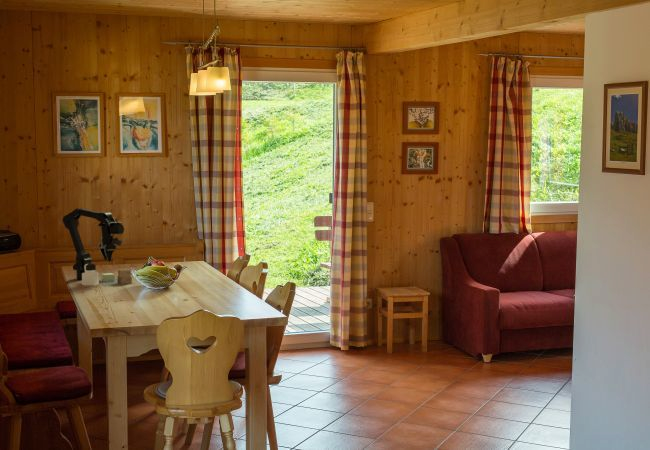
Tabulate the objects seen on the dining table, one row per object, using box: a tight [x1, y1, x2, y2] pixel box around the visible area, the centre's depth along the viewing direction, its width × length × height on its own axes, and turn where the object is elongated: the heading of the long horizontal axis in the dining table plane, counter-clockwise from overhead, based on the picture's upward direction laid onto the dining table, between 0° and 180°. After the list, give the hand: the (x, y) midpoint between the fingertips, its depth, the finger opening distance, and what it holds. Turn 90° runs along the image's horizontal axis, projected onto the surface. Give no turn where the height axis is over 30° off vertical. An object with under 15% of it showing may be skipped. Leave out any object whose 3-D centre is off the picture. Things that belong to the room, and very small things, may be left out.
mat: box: [99, 278, 135, 287], centre depth 486 cm, size 23×17×1 cm
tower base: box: [116, 275, 133, 286], centre depth 483 cm, size 6×6×4 cm
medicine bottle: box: [81, 263, 100, 286], centre depth 478 cm, size 7×7×12 cm
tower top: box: [117, 268, 132, 277], centre depth 482 cm, size 6×6×4 cm
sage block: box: [101, 272, 116, 282], centre depth 491 cm, size 6×6×4 cm
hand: (107, 260), depth 490 cm, fingers open, 9 cm apart
